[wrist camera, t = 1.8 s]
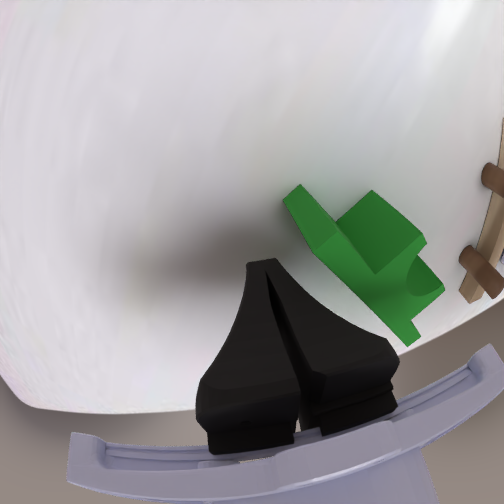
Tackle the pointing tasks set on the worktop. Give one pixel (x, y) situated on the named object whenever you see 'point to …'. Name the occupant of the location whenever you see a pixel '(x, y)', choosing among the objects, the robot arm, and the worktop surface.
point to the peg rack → (487, 240)
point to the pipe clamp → (371, 256)
